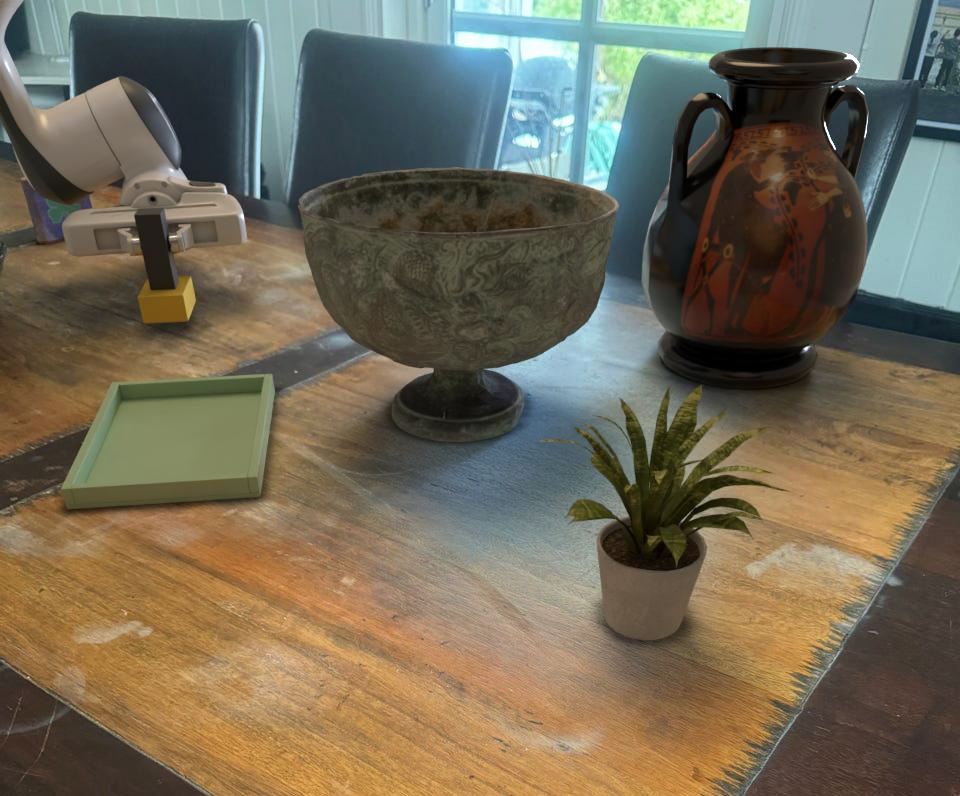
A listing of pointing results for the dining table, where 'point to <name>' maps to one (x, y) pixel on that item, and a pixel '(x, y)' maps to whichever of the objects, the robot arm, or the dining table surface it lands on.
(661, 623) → the house plant
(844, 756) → the dining table surface
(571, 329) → the decorative bowl
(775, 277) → the amphora vase
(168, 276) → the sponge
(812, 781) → the dining table surface
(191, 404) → the tray
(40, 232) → the flask
